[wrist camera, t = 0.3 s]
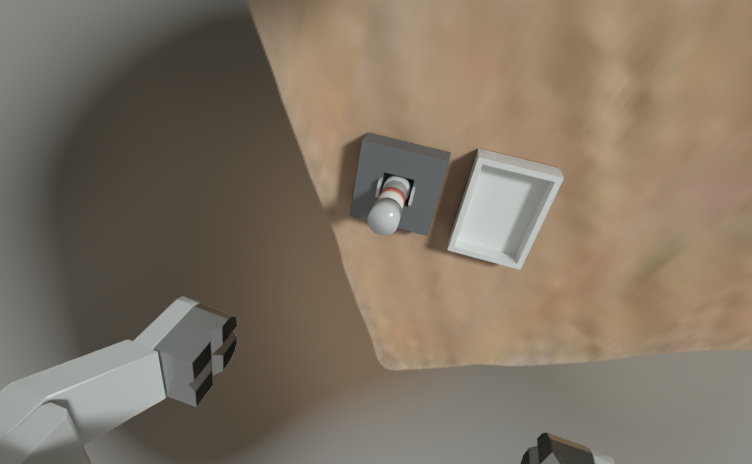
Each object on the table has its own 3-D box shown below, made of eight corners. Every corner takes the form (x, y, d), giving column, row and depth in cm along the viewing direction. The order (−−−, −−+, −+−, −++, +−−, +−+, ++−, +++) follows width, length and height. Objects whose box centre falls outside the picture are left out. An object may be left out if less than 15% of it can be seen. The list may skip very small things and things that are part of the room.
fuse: (389, 168, 57) (370, 204, 47) (414, 174, 57) (401, 212, 46) (384, 191, 59) (365, 230, 49) (408, 197, 59) (394, 238, 49)
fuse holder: (368, 132, 56) (359, 142, 52) (450, 152, 55) (448, 164, 51) (356, 205, 62) (347, 219, 58) (429, 224, 61) (426, 240, 57)
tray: (478, 148, 54) (478, 157, 51) (559, 168, 53) (563, 178, 50) (448, 238, 62) (447, 250, 59) (518, 256, 61) (520, 269, 58)
